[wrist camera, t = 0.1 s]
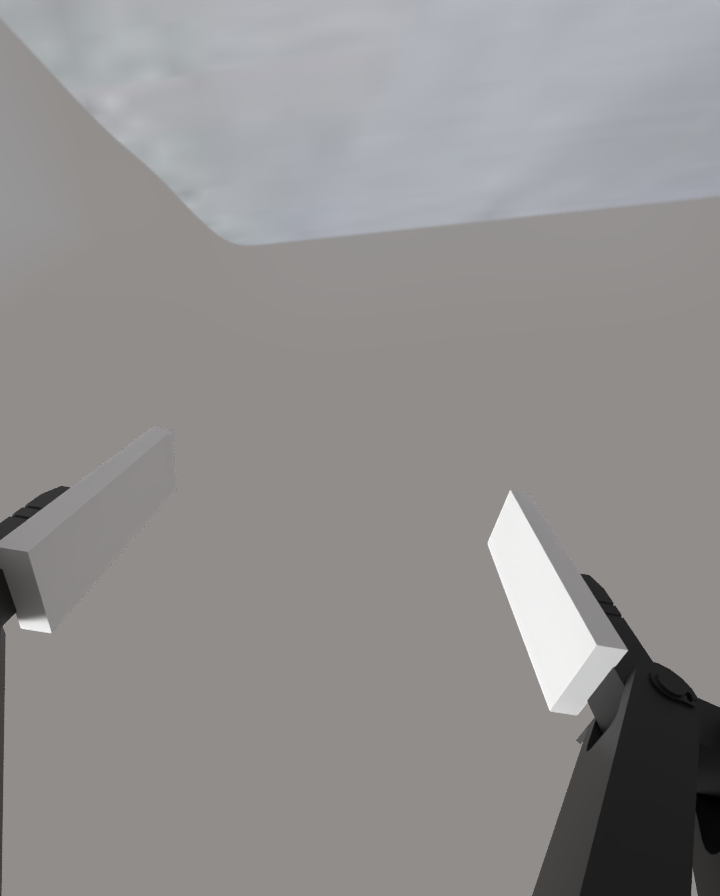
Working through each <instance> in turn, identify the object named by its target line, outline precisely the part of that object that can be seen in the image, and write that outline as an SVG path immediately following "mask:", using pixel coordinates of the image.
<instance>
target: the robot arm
mask: <svg viewBox="0 0 720 896" xmlns="http://www.w3.org/2000/svg"><path fill="white" fill-rule="evenodd" d="M175 491H176V473H175V453H174V436H173V429H167V428H161V427H156V426H152V427H151V428H150V429H148V430H147V431H145V432H144V433H143V434H142V435H140V436H139V437H137V438H136V439H135V440H134V441H132V442H131V443H130V444H128V445H127V446H125V447H124V448H123V449H121V450H120V451H119V452H118V453H116V454H115V455H114V456H112V457H111V458H109V459H108V460H107V461H106V462H104V463H103V464H101V465H100V466H99V467H97V468H96V469H95V470H93V471H92V472H91V473H90V474H88V475H87V476H86V477H84V478H83V479H81V480H80V481H79V482H77V483H76V484H75V485H73V486H72V487H71V488H70V487H64V486H60V487H58V488H55V489H53V490H50V491H48V492H45V493H43V494H41V495H39V496H38V497H37V498H35V499H34V500H32V501H31V502H30V503H28V504H27V505H26V506H25V508H21V509H20V510H18V511H17V512H15V513H14V514H13V516H12V517H8V518H7V519H5V520H4V521H2V522H1V523H0V896H1V883H2V821H3V819H2V818H3V758H4V757H3V756H4V753H3V752H4V751H3V750H4V694H5V693H4V691H5V688H4V687H5V632H4V629H3V625H4V624H5V623H6V622H7V621H8V620H9V619H10V618H11V617H12V616H13V615H14V614H15V613H16V615H17V618H18V621H19V624H20V627H21V629H27V630H34V631H41V632H47V633H52V632H53V631H54V630H55V629H56V628H57V627H58V625H59V624H60V623H61V622H62V621H63V620H64V619H65V617H66V616H67V615H68V614H69V613H70V612H71V611H72V609H73V608H74V607H75V606H76V605H77V604H78V603H79V601H80V600H81V599H82V598H83V597H84V596H85V594H86V593H87V592H88V591H89V590H90V589H91V588H92V586H93V585H94V584H95V583H96V582H97V581H98V580H99V578H100V577H101V576H102V575H103V574H104V572H105V571H106V570H107V569H108V568H109V567H110V565H112V563H113V562H114V561H115V560H116V559H117V558H118V557H119V555H120V554H121V553H122V552H123V551H124V549H125V548H126V547H127V546H128V545H129V544H130V543H131V542H132V540H133V539H134V538H135V537H136V536H137V535H138V534H139V532H140V531H141V530H142V529H143V528H144V527H145V526H146V524H147V523H148V522H149V521H150V520H151V519H152V517H153V516H154V515H155V514H156V513H157V512H158V511H159V509H160V508H161V507H162V506H163V505H164V504H165V503H166V501H167V500H168V499H169V498H170V497H171V495H172V494H173V493H174V492H175ZM488 547H489V549H490V552H491V555H492V557H493V560H494V563H495V565H496V568H497V571H498V573H499V576H500V579H501V582H502V584H503V587H504V590H505V592H506V595H507V597H508V600H509V603H510V606H511V608H512V611H513V614H514V616H515V619H516V622H517V625H518V627H519V630H520V633H521V635H522V638H523V641H524V643H525V646H526V648H527V651H528V654H529V657H530V659H531V662H532V665H533V668H534V670H535V673H536V675H537V678H538V681H539V683H540V686H541V689H542V692H543V694H544V697H545V699H546V702H547V705H548V708H549V710H550V711H552V712H558V713H565V714H571V715H578V714H579V713H580V711H581V710H582V709H583V708H584V706H585V705H586V703H589V705H590V708H591V710H592V712H593V714H594V716H595V718H594V719H593V720H592V722H591V723H590V724H589V725H588V726H587V728H586V729H585V730H584V731H583V733H582V734H581V735H580V736H579V738H578V739H577V741H578V742H579V743H580V744H581V743H582V742H583V744H582V747H581V750H580V754H579V756H578V760H577V762H576V765H575V768H574V772H573V774H572V778H571V780H570V784H569V787H568V789H567V792H566V796H565V799H564V802H563V805H562V808H561V811H560V814H559V817H558V820H557V823H556V826H555V829H554V832H553V835H552V838H551V841H550V844H549V847H548V850H547V853H546V856H545V859H544V862H543V865H542V868H541V871H540V874H539V877H538V880H537V883H536V886H535V889H534V892H533V895H532V896H691V884H692V866H693V872H694V877H695V882H696V887H697V893H698V896H720V707H718V706H715V705H713V704H710V703H708V702H706V701H704V700H701V699H699V698H697V696H696V695H695V693H694V692H693V690H692V689H691V688H690V687H689V685H688V684H687V683H685V681H684V680H683V679H682V678H680V677H679V676H678V675H677V674H675V673H674V672H673V671H671V670H670V669H668V668H666V667H664V666H662V665H660V664H658V663H655V662H653V661H652V660H651V658H650V657H649V655H648V654H647V652H646V651H645V649H644V648H643V646H642V645H641V643H640V642H639V640H638V639H637V637H636V636H635V635H634V633H633V631H632V630H631V629H630V627H629V626H628V624H627V623H626V621H625V620H624V618H621V614H620V612H619V611H618V609H617V608H616V606H613V602H612V600H611V599H610V597H609V596H608V594H607V593H606V591H605V590H604V588H602V587H601V586H600V585H599V584H598V583H597V582H596V581H595V580H594V579H593V578H592V577H591V576H589V575H585V574H580V573H579V571H578V570H577V568H576V567H575V565H574V564H573V562H572V560H571V559H570V557H569V555H568V554H567V552H566V551H565V549H564V548H563V546H562V544H561V543H560V541H559V540H558V538H557V536H556V535H555V533H554V532H553V530H552V528H551V527H550V525H549V524H548V522H547V521H546V519H545V517H544V516H543V514H542V513H541V511H540V510H539V508H538V506H537V505H536V503H535V501H534V500H533V498H532V497H531V495H530V494H529V493H525V492H520V491H514V490H510V492H509V494H508V496H507V499H506V501H505V503H504V506H503V508H502V510H501V513H500V515H499V517H498V520H497V522H496V524H495V527H494V529H493V532H492V534H491V536H490V538H489V541H488Z"/></svg>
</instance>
